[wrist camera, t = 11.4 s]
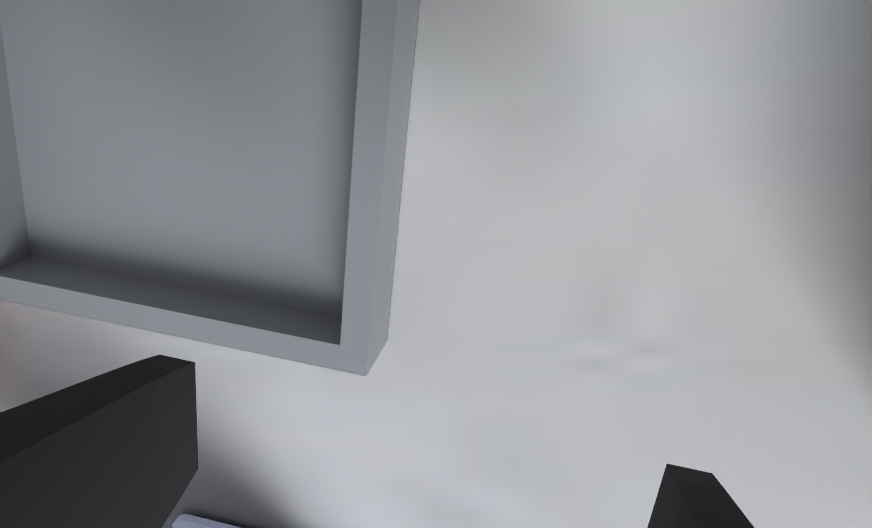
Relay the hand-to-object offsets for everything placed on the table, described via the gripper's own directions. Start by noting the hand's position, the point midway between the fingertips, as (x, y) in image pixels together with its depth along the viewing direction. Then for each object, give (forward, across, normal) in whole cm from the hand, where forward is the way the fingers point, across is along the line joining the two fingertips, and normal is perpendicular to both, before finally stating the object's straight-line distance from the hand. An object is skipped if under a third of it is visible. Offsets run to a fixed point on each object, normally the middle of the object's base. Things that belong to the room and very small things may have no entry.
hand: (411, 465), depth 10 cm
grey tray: (+9, +9, -3) cm, 13 cm away
